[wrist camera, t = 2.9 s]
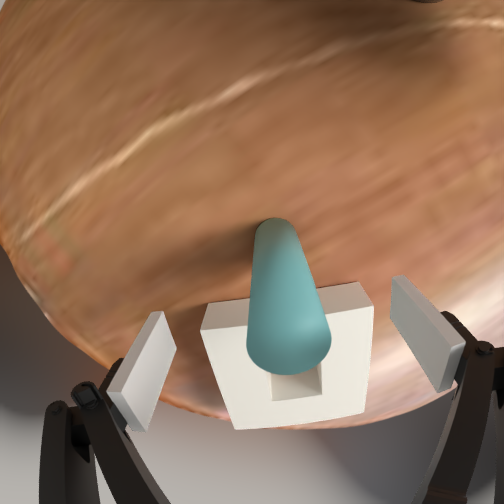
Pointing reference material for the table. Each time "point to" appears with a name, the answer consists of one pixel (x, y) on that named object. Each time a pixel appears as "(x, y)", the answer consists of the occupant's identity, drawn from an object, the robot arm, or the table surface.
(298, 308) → the peg
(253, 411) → the socket board
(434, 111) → the table surface
